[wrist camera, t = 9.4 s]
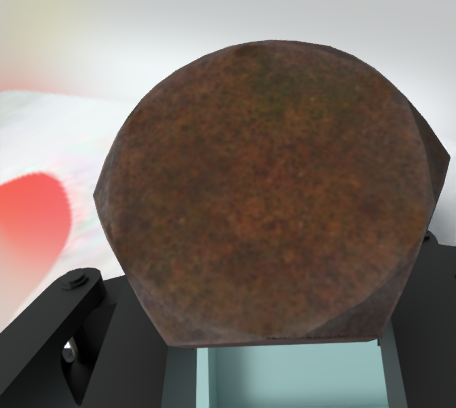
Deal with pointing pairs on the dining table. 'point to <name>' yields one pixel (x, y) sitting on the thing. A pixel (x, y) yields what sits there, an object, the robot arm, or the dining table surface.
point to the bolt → (270, 197)
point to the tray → (292, 376)
